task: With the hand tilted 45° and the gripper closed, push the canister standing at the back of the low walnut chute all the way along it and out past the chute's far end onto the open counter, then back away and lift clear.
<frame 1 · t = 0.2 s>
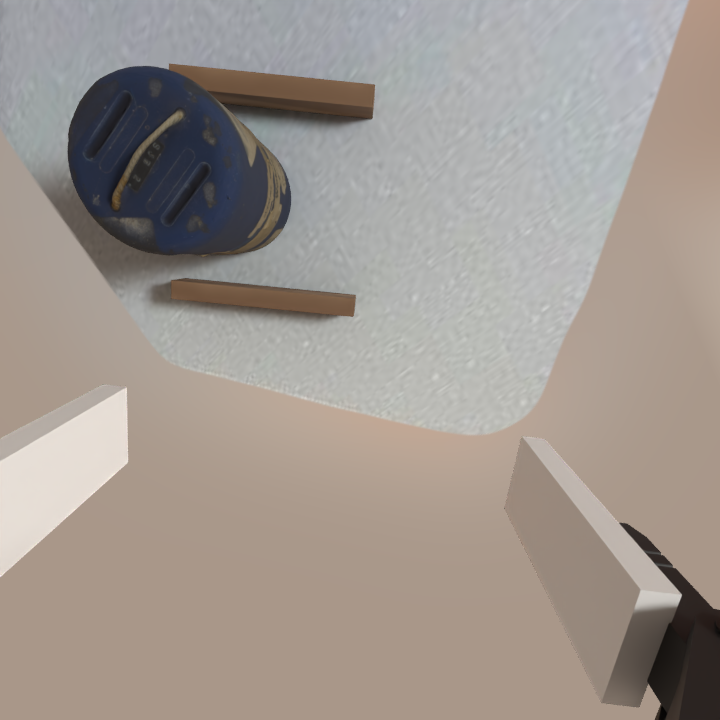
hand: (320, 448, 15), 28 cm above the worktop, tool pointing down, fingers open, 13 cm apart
walnut chute: (274, 202, 39), on the worktop
canister: (241, 199, 39), on the worktop
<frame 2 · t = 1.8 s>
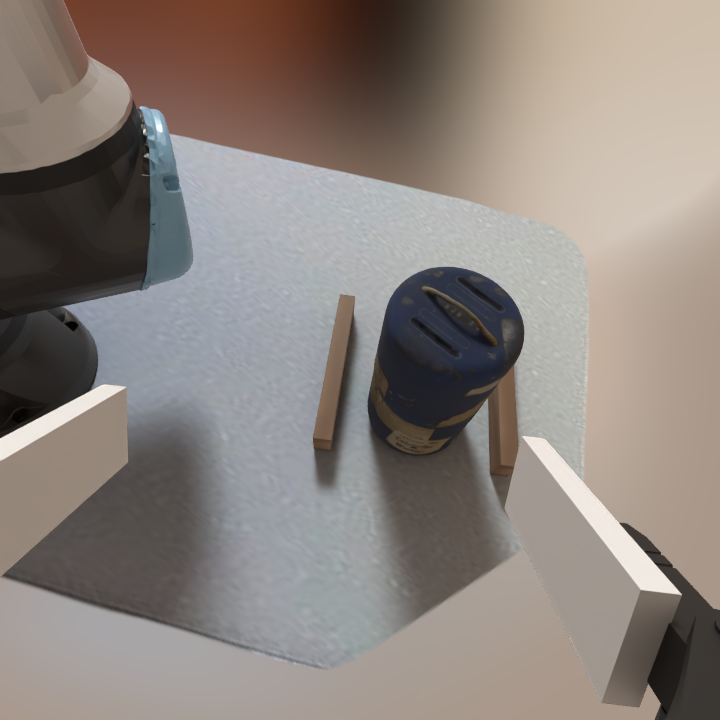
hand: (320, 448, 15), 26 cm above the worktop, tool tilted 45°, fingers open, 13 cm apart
walnut chute: (415, 386, 45), on the worktop
canister: (413, 414, 43), on the worktop
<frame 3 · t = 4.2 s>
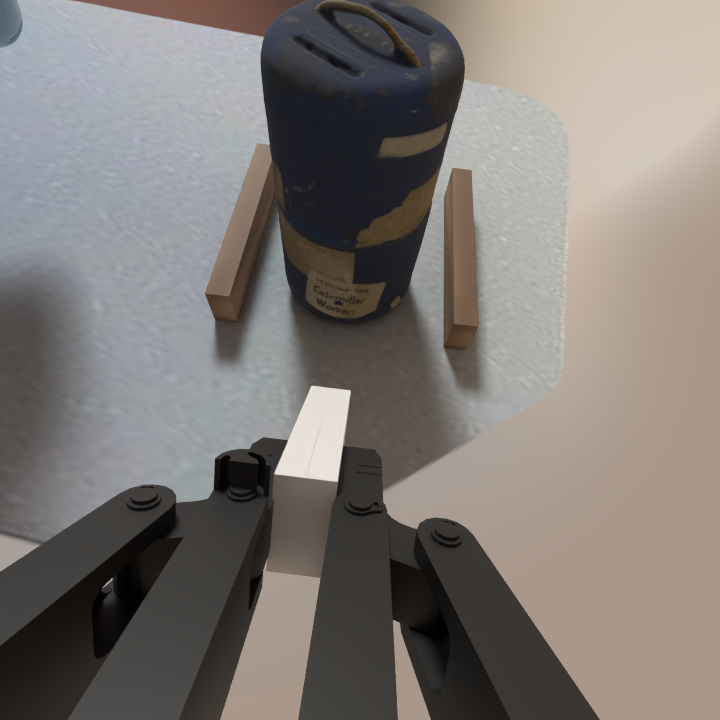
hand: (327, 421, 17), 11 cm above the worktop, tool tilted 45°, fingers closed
walnut chute: (352, 252, 35), on the worktop
canister: (348, 282, 34), on the worktop
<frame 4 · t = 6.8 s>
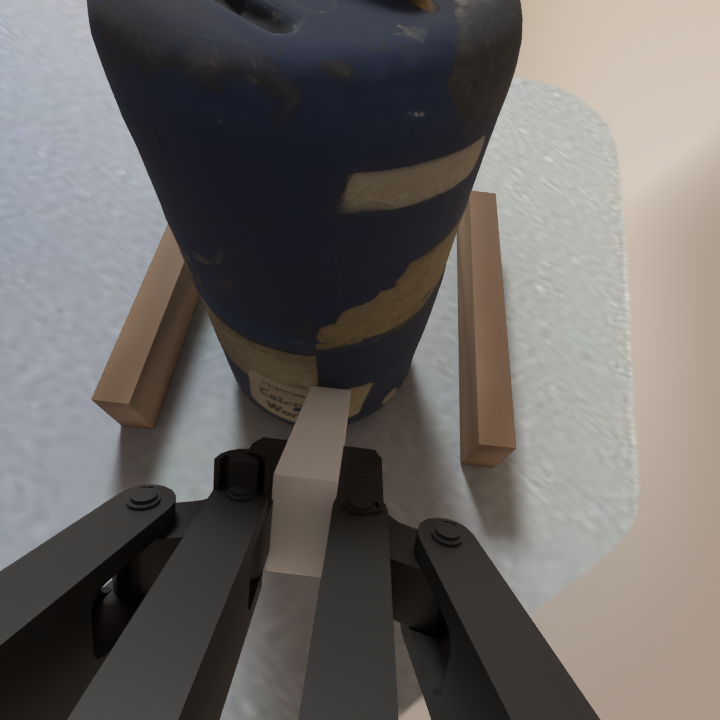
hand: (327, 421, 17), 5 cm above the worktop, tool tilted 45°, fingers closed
walnut chute: (329, 312, 25), on the worktop
canister: (322, 356, 24), on the worktop, touching gripper
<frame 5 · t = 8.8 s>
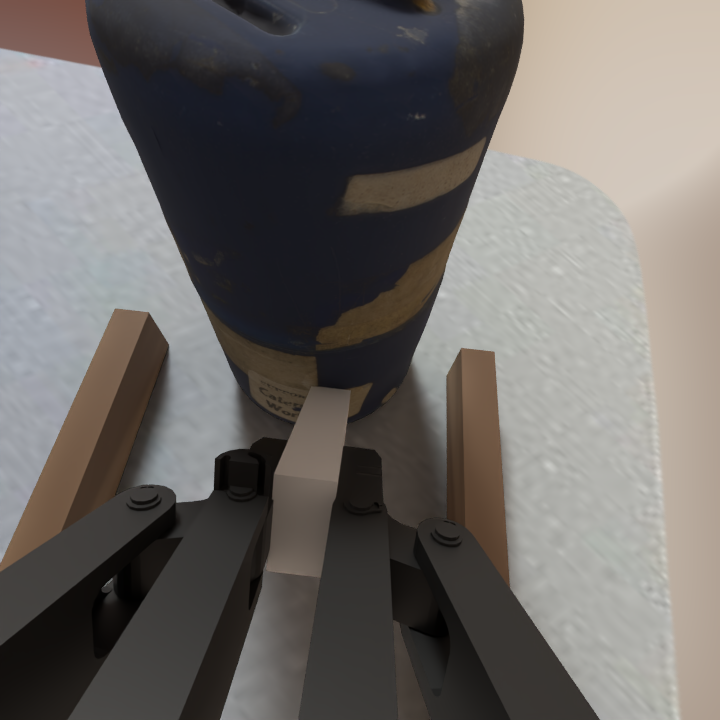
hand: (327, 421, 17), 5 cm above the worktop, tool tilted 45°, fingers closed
walnut chute: (281, 515, 20), on the worktop
canister: (322, 355, 24), on the worktop, touching gripper
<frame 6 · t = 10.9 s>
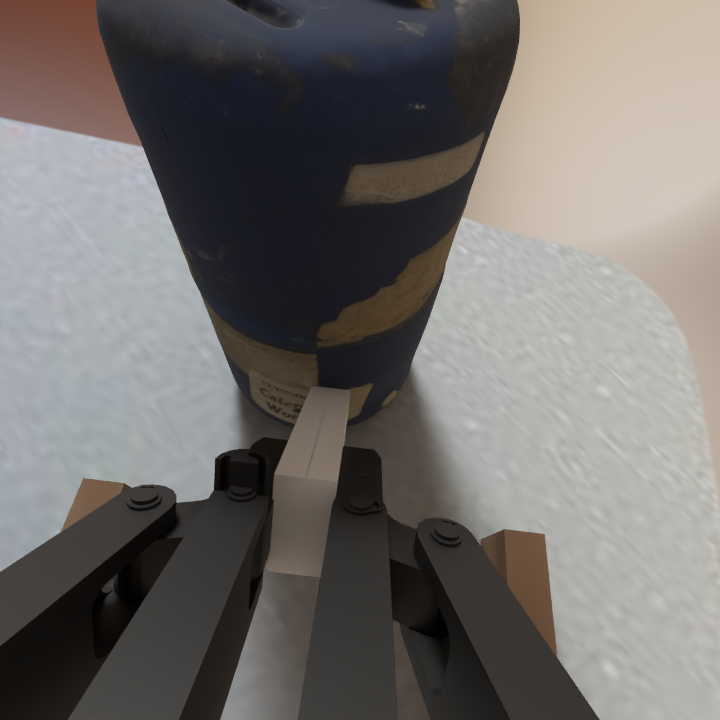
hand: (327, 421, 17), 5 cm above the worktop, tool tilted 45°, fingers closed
canister: (322, 359, 24), on the worktop, touching gripper
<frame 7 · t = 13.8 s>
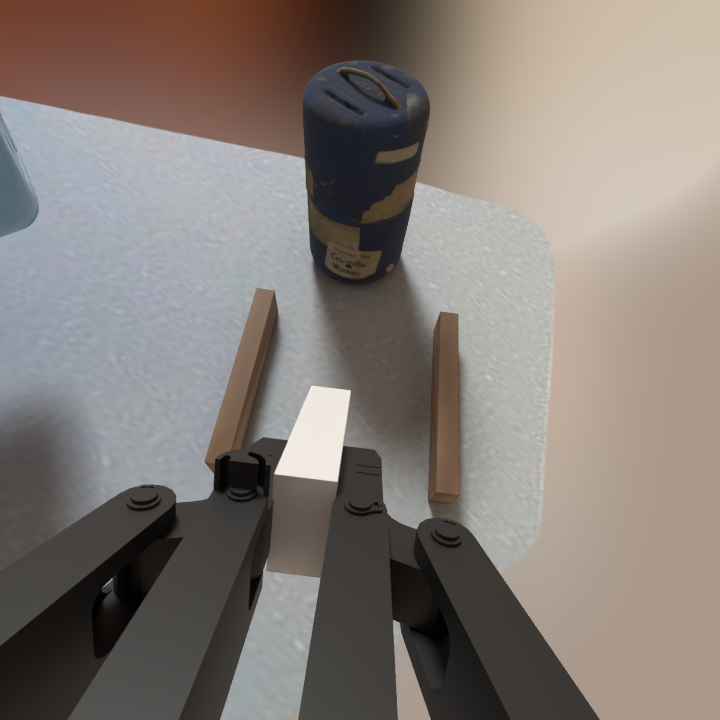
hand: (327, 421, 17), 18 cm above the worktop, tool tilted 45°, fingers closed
walnut chute: (344, 395, 38), on the worktop
canister: (355, 256, 46), on the worktop
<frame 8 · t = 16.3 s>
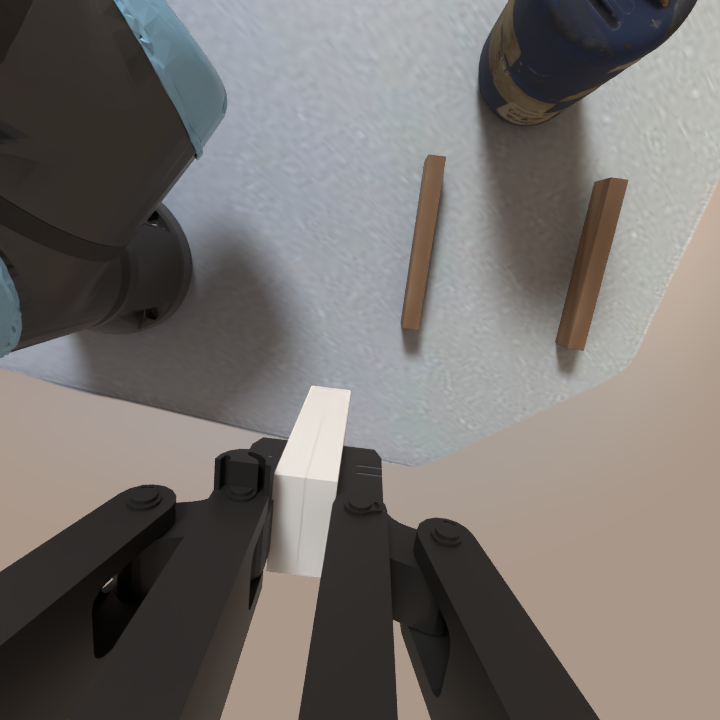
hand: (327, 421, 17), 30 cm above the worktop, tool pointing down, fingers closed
walnut chute: (501, 256, 44), on the worktop
canister: (525, 74, 40), on the worktop
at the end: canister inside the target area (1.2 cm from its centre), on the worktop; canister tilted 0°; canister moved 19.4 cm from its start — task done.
